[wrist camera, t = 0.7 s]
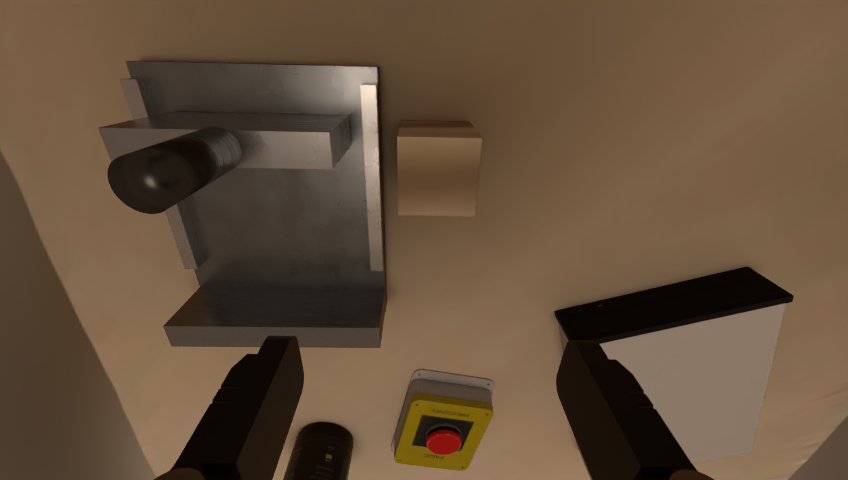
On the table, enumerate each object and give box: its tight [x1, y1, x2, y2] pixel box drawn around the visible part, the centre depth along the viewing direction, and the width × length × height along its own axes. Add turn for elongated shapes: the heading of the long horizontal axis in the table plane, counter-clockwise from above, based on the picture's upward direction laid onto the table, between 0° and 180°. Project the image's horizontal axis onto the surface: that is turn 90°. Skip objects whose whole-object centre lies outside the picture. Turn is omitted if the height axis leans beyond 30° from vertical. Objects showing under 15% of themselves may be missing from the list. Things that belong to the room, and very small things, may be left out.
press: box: [120, 61, 387, 348], centre depth 26 cm, size 20×16×6 cm
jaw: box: [99, 112, 351, 214], centre depth 19 cm, size 2×12×12 cm, turn 89°
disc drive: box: [555, 267, 793, 480], centre depth 36 cm, size 18×22×5 cm
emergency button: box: [391, 369, 494, 471], centre depth 40 cm, size 9×4×15 cm
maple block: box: [397, 120, 482, 216], centre depth 24 cm, size 5×5×6 cm
